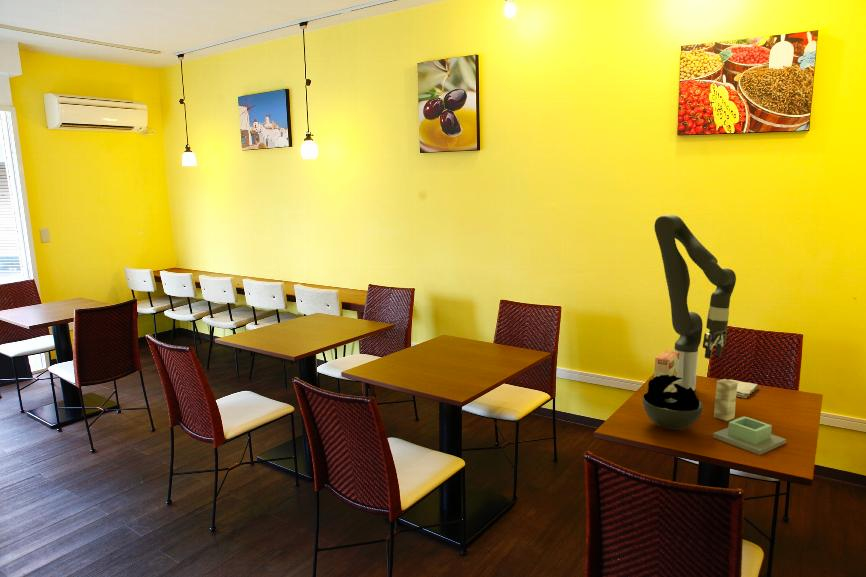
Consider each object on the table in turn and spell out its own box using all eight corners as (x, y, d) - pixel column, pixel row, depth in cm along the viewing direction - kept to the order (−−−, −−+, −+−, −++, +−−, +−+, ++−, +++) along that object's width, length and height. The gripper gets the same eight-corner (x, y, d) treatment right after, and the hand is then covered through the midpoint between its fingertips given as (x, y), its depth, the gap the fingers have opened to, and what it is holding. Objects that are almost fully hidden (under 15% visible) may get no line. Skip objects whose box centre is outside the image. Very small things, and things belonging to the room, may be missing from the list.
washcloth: (716, 394, 240) (716, 387, 240) (728, 383, 254) (728, 376, 253) (747, 400, 233) (747, 393, 232) (758, 389, 246) (758, 382, 245)
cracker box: (667, 412, 219) (670, 359, 216) (650, 408, 223) (654, 357, 219) (676, 401, 230) (680, 351, 227) (661, 398, 234) (664, 349, 230)
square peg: (713, 416, 215) (716, 381, 213) (721, 414, 217) (724, 378, 215) (726, 421, 211) (729, 384, 208) (734, 418, 213) (737, 382, 211)
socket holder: (712, 437, 197) (714, 420, 196) (738, 427, 205) (740, 411, 204) (759, 455, 184) (761, 437, 183) (785, 443, 192) (787, 426, 191)
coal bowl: (651, 412, 219) (654, 365, 216) (707, 425, 207) (711, 376, 203) (632, 429, 204) (635, 378, 201) (691, 444, 191) (695, 391, 188)
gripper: (717, 314, 237) (712, 352, 239) (699, 317, 228) (694, 357, 231) (735, 318, 231) (730, 357, 233) (718, 321, 222) (713, 361, 225)
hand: (712, 356), depth 232 cm, fingers open, 8 cm apart
